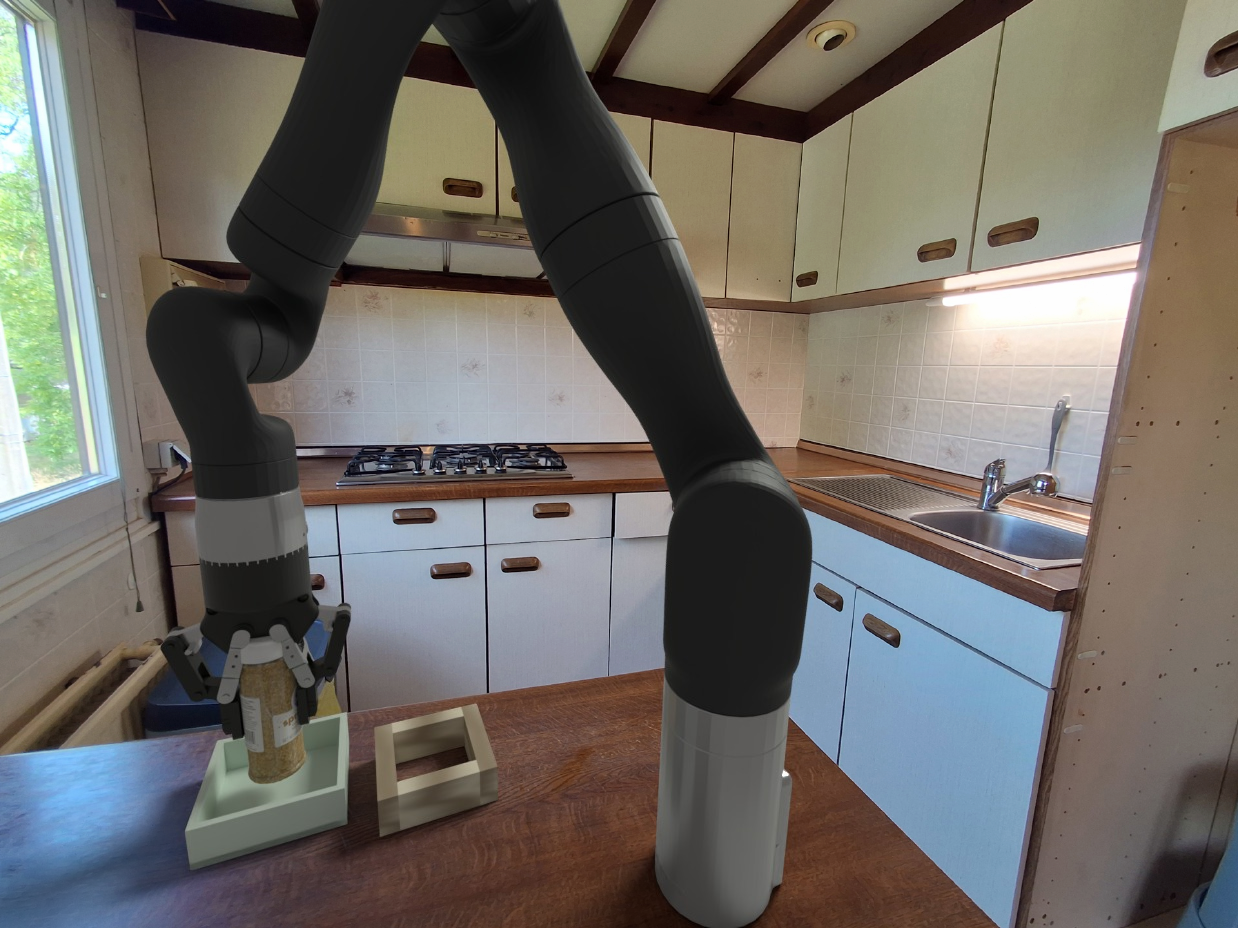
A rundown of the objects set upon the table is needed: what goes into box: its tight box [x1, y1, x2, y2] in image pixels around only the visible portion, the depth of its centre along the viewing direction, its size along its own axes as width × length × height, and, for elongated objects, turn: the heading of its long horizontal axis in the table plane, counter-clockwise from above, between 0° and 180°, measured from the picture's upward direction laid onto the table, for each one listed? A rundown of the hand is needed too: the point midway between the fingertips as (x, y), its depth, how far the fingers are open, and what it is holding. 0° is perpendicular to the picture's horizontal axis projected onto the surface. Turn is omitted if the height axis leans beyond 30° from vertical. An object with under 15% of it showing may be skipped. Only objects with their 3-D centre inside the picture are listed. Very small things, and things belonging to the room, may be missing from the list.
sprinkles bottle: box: [237, 636, 306, 784], centre depth 48 cm, size 5×5×14 cm
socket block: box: [373, 703, 499, 838], centre depth 52 cm, size 10×10×4 cm
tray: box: [184, 711, 350, 872], centre depth 50 cm, size 11×11×4 cm
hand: (273, 725), depth 49 cm, fingers closed on sprinkles bottle, 4 cm apart
